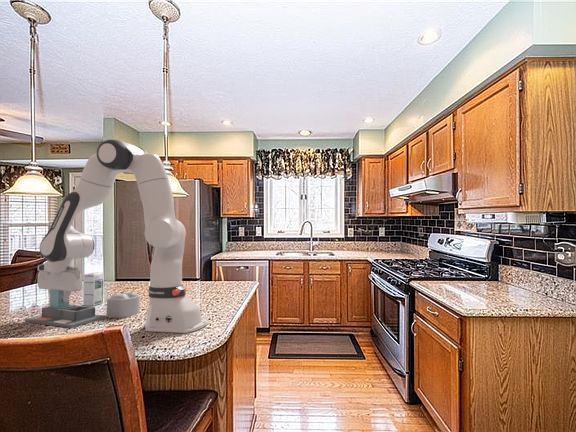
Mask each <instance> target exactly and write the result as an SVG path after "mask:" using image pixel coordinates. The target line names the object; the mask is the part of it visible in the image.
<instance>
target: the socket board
mask: <svg viewBox="0 0 576 432" xmlns="http://www.w3.org/2000/svg"><path fill="white" fill-rule="evenodd" d="M104 319H106V315H101V314H96V306H85V305H78V304H69V306H68V307H64V308H59V309H54V308H50V305H48V306H44V307H42V308H41V315H37V316H33V317H28V318H25V319H24V321H25V323H33V324H40V325H47V326H55V327H62V328H68V329H69V328H70V329H74V328H77V327H80V326H83V325H86V324H90V323H95V322H96V321H97V322H98V321H101V320H104Z"/></svg>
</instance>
